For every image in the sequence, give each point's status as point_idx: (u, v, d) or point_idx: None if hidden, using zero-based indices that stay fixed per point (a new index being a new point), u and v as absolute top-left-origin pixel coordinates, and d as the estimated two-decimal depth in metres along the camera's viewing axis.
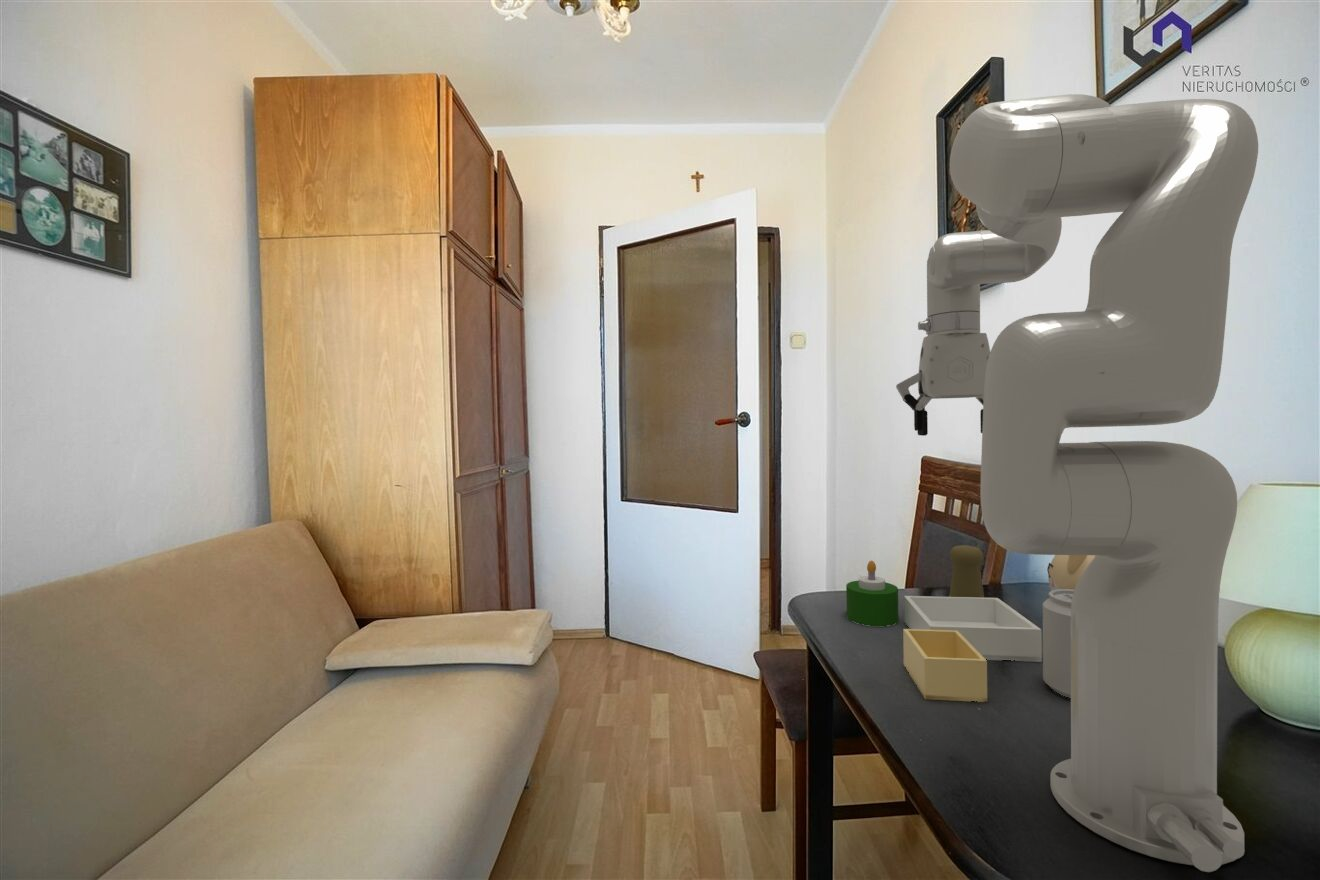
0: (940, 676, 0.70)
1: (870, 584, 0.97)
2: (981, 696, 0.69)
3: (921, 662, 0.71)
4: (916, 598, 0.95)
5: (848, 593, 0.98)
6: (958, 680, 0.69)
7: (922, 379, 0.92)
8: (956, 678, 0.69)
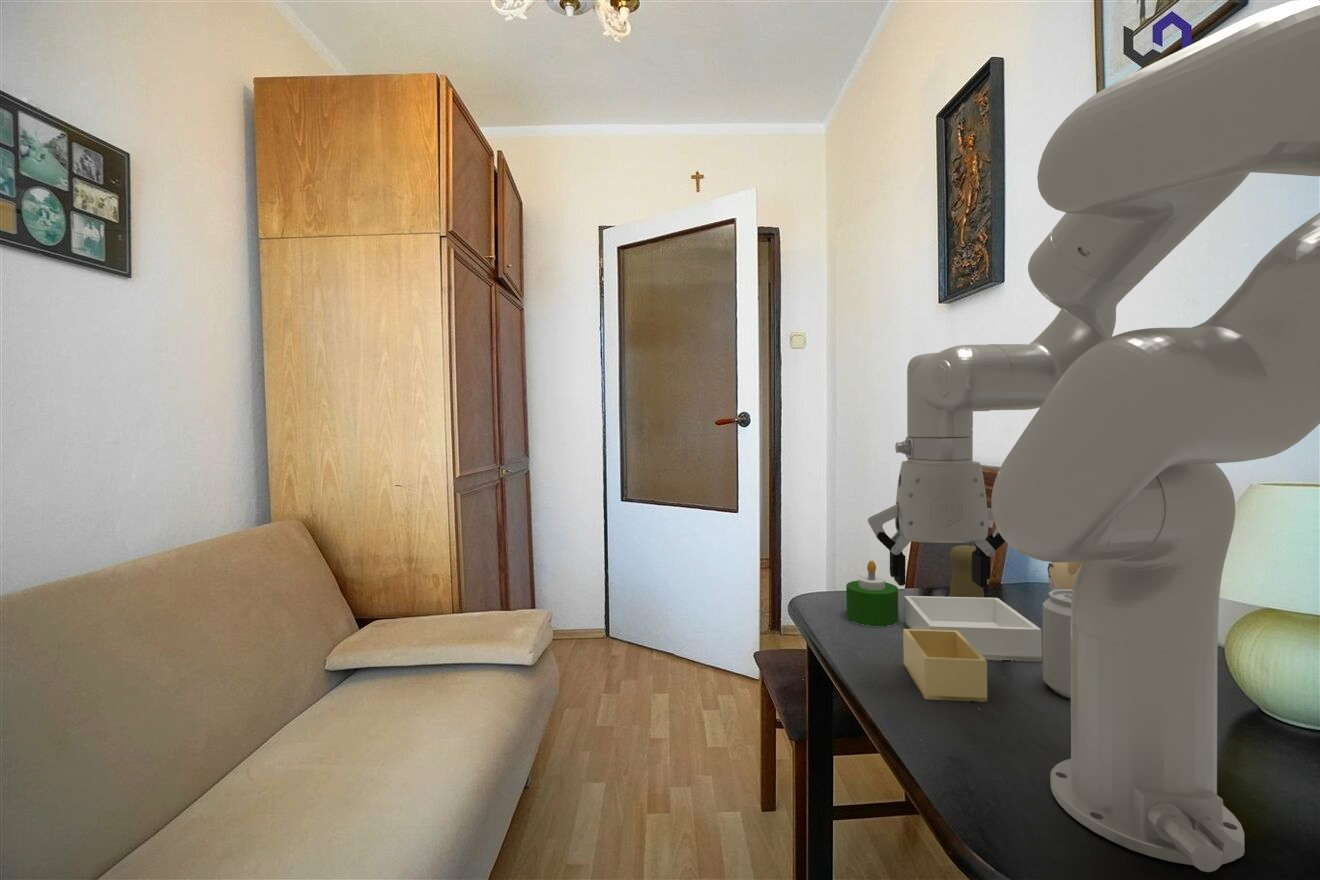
0: (940, 676, 0.70)
1: (870, 584, 0.97)
2: (981, 696, 0.69)
3: (921, 662, 0.71)
4: (916, 598, 0.95)
5: (848, 593, 0.98)
6: (958, 680, 0.69)
7: (899, 516, 0.74)
8: (956, 678, 0.69)
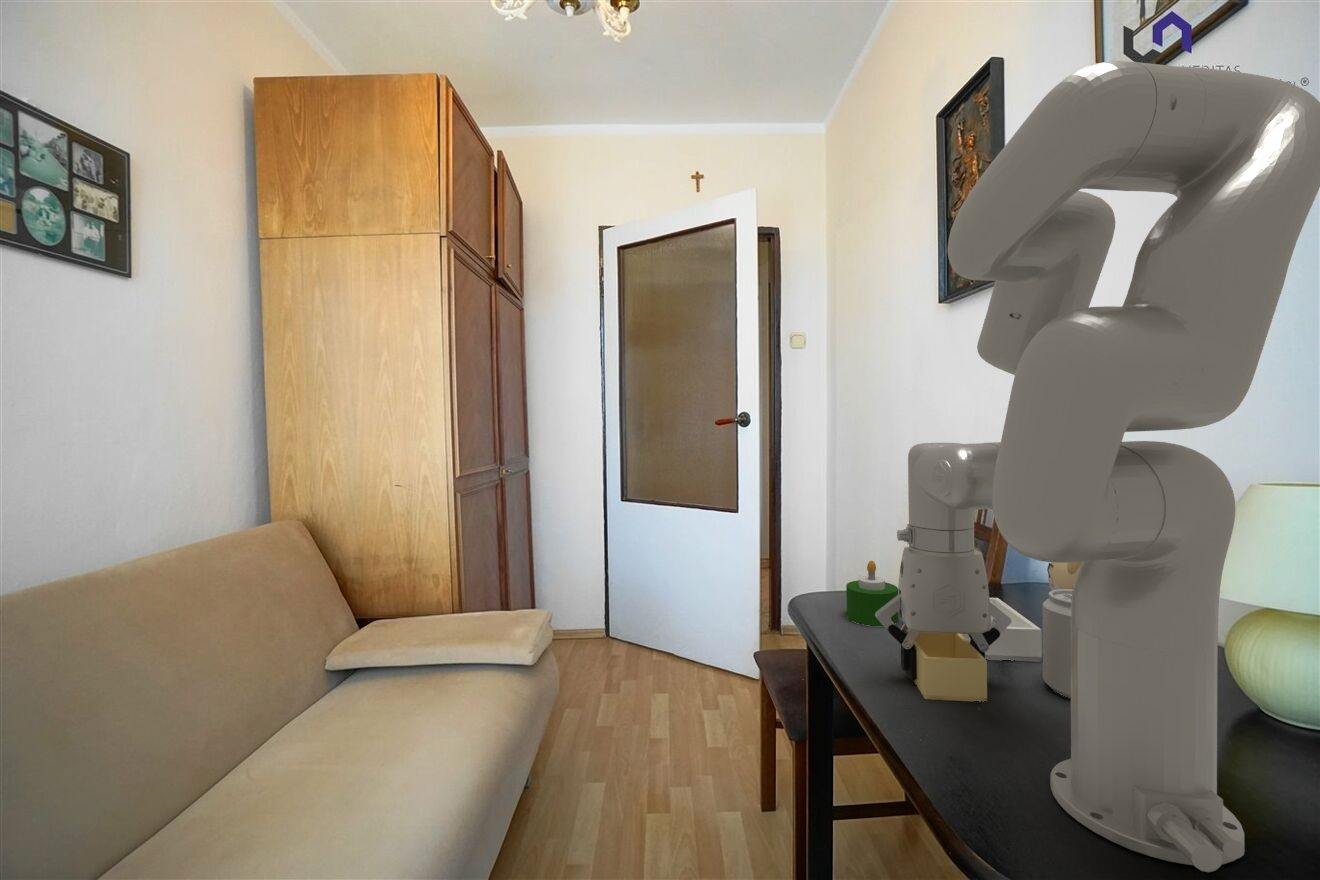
0: (940, 676, 0.70)
1: (870, 584, 0.97)
2: (981, 696, 0.69)
3: (921, 662, 0.71)
4: None
5: (848, 593, 0.98)
6: (958, 680, 0.69)
7: (902, 605, 0.74)
8: (956, 678, 0.69)
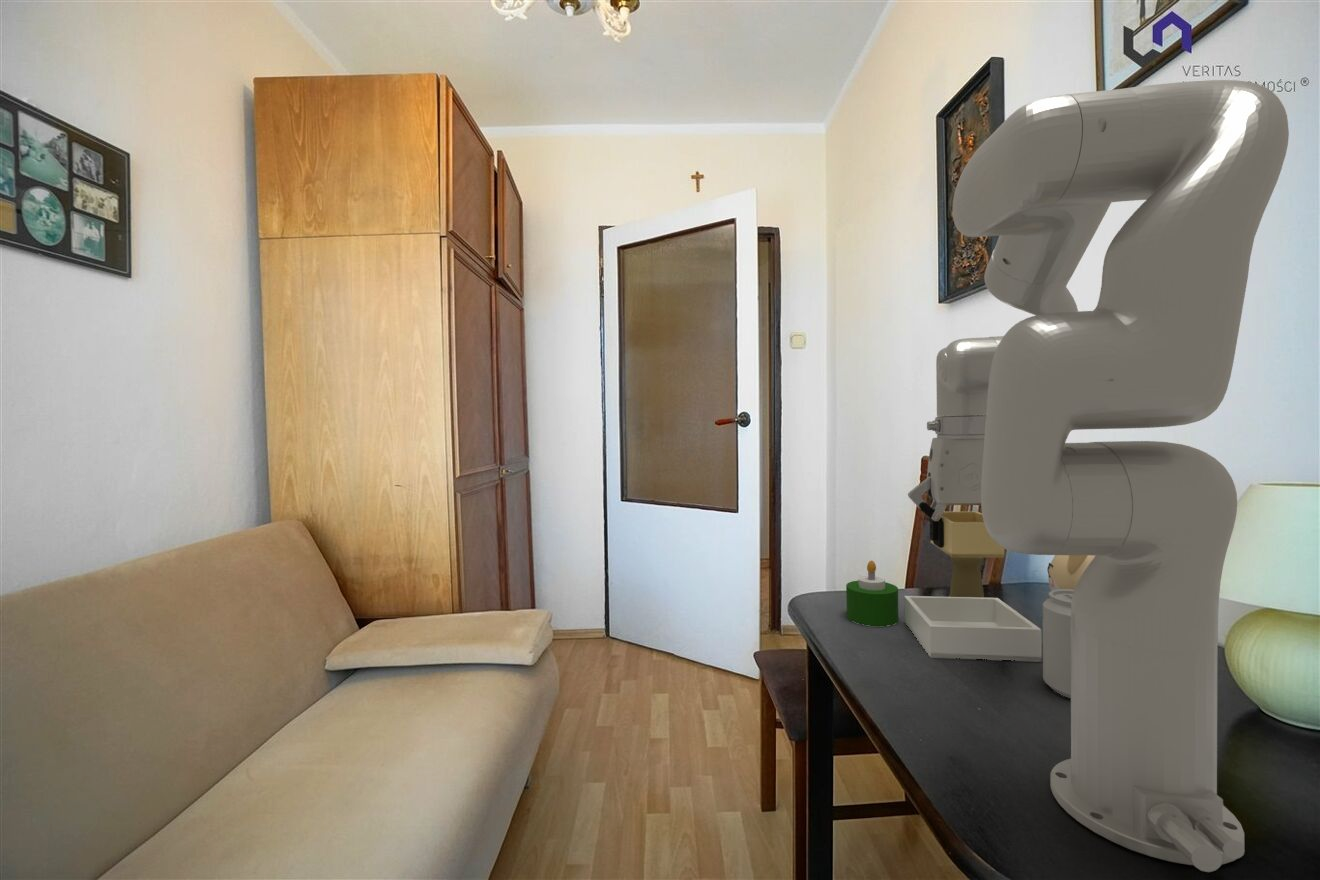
0: (965, 537, 0.83)
1: (870, 584, 0.97)
2: (999, 553, 0.82)
3: (948, 528, 0.84)
4: (916, 598, 0.95)
5: (848, 593, 0.98)
6: (980, 540, 0.83)
7: (931, 483, 0.87)
8: (978, 539, 0.83)
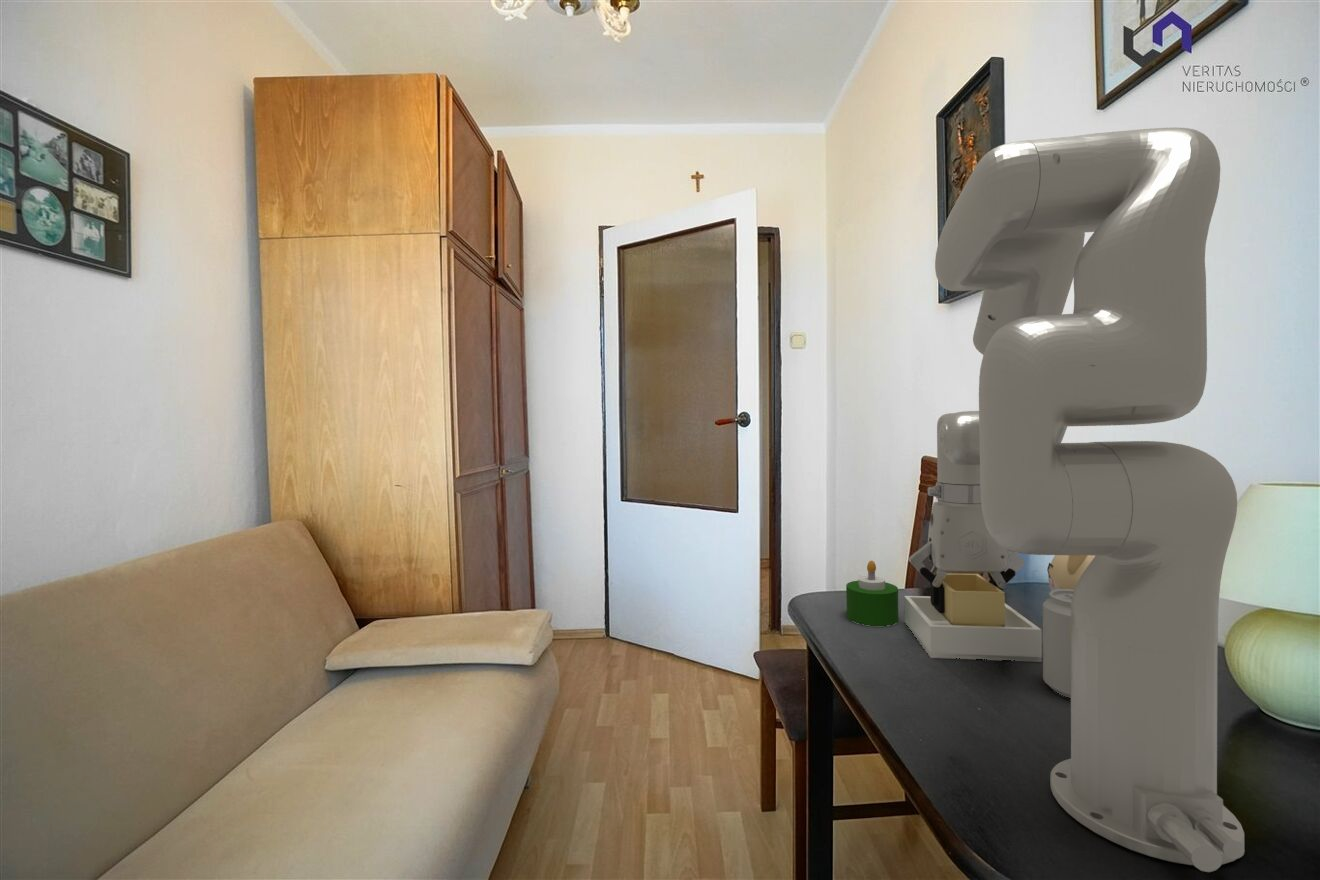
0: (965, 606, 0.83)
1: (870, 584, 0.97)
2: (1000, 622, 0.83)
3: (949, 596, 0.85)
4: (916, 598, 0.95)
5: (848, 593, 0.98)
6: (980, 609, 0.83)
7: (932, 550, 0.87)
8: (979, 608, 0.83)
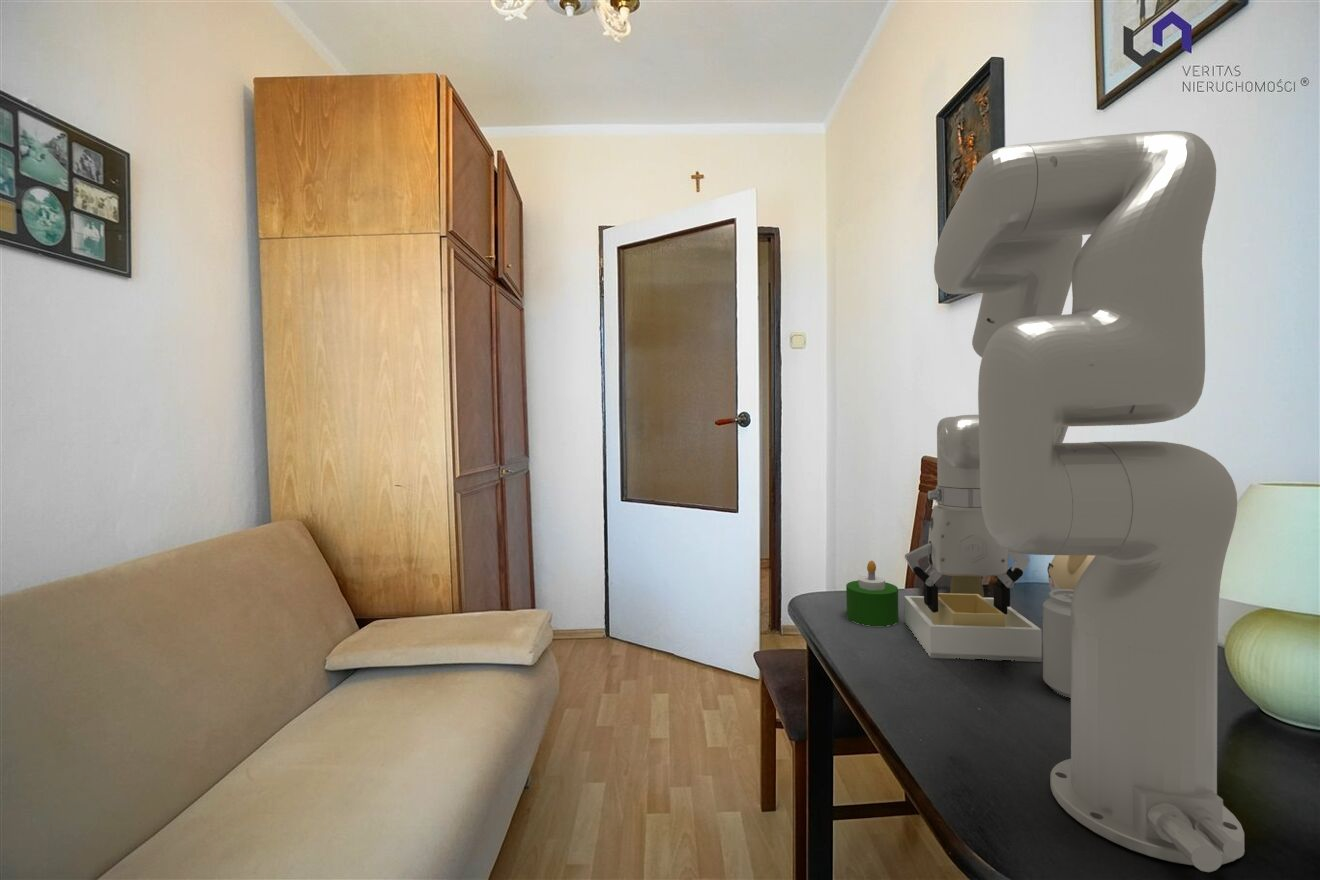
0: None
1: (870, 584, 0.97)
2: None
3: (949, 617, 0.85)
4: (916, 598, 0.95)
5: (848, 593, 0.98)
6: None
7: (932, 553, 0.87)
8: None
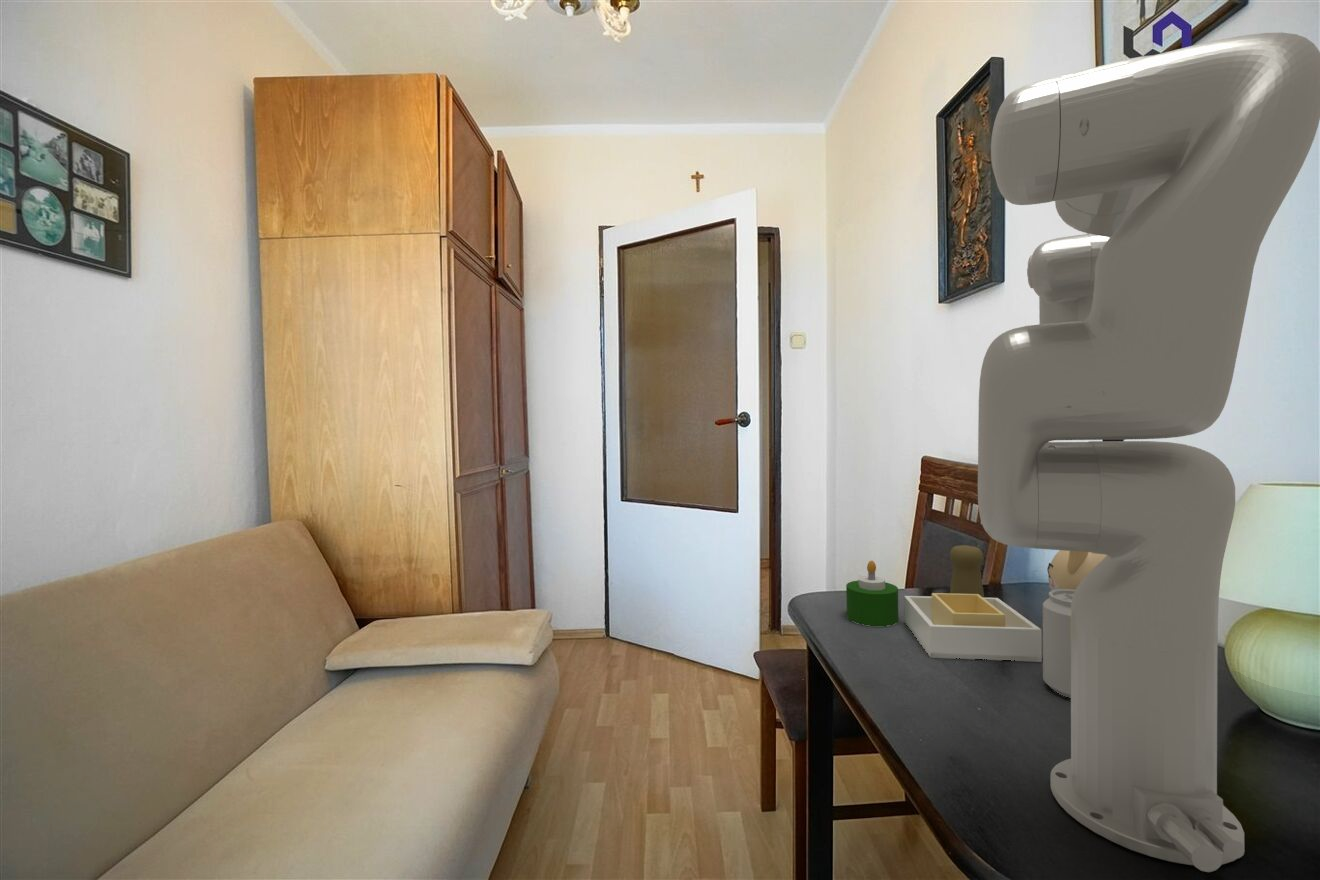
0: None
1: (870, 584, 0.97)
2: None
3: (949, 617, 0.85)
4: (916, 598, 0.95)
5: (848, 593, 0.98)
6: None
7: None
8: None
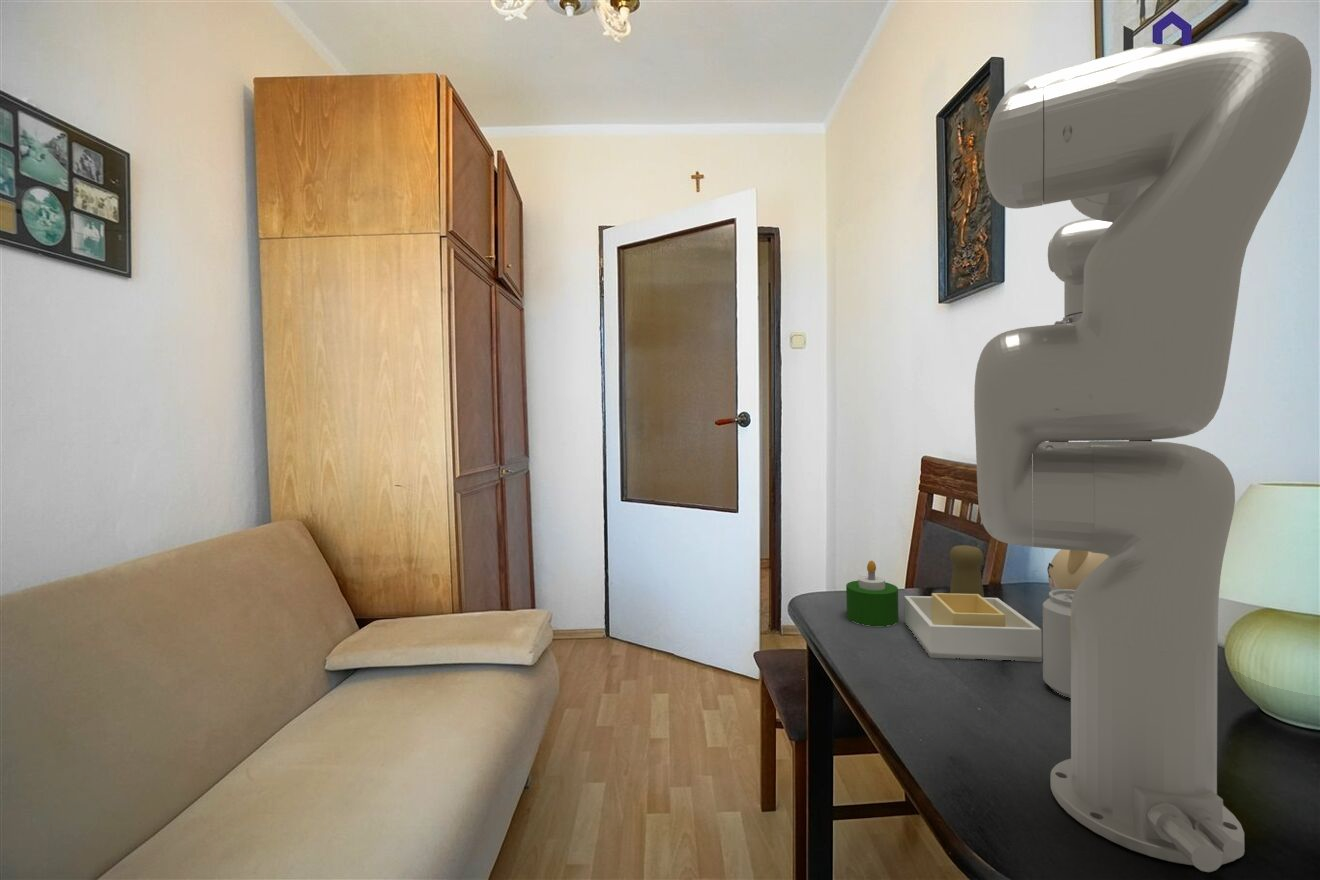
0: None
1: (870, 584, 0.97)
2: None
3: (949, 617, 0.85)
4: (916, 598, 0.95)
5: (848, 593, 0.98)
6: None
7: None
8: None
